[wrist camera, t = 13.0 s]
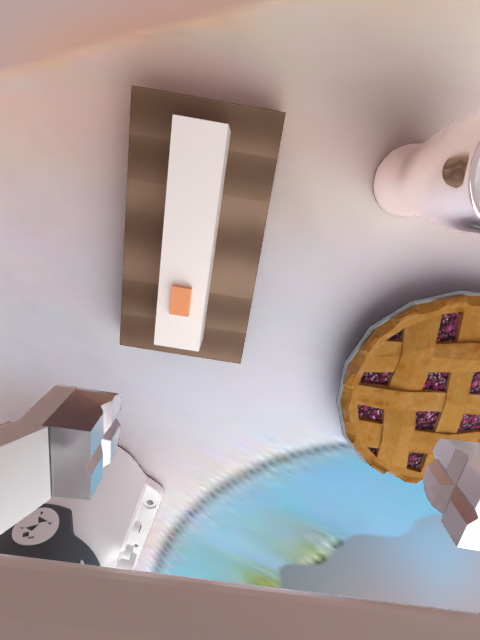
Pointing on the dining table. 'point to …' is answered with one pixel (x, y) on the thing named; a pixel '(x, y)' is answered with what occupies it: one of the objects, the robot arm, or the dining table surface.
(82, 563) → the robot arm
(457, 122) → the beer glass
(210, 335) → the socket board
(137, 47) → the dining table surface
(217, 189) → the power strip
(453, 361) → the pie
